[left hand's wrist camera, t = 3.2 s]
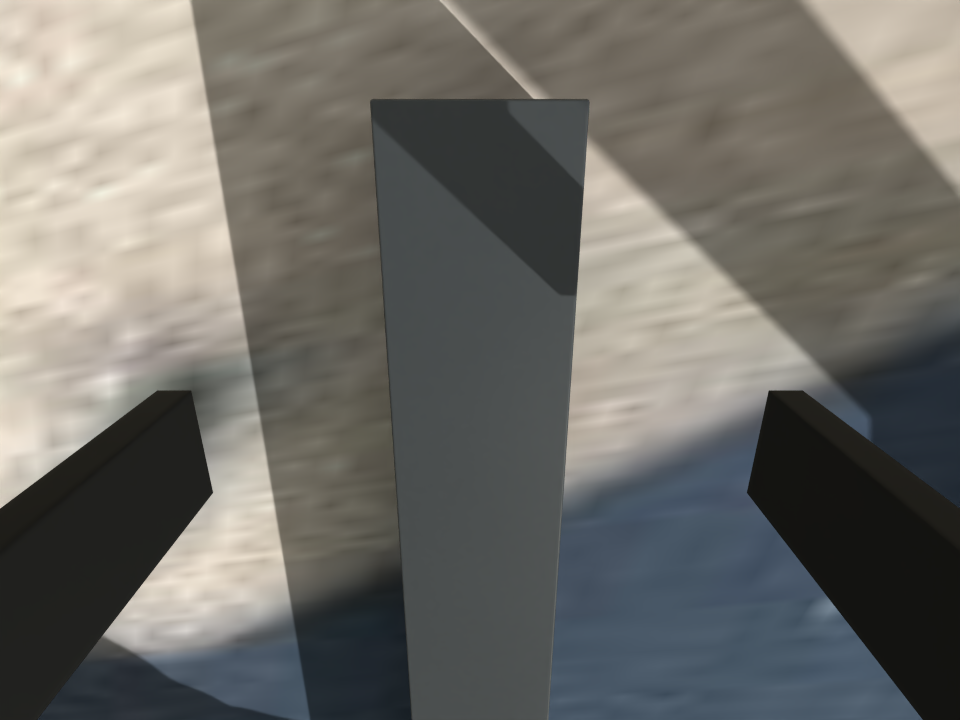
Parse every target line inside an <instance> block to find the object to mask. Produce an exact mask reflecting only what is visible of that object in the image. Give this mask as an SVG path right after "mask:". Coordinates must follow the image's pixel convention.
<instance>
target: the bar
mask: <svg viewBox="0 0 960 720" xmlns="http://www.w3.org/2000/svg"><path fill="white" fill-rule="evenodd" d="M370 107H371V122H372V136H373V151H374V166H375V181H376V196H377V211H378V226H379V241H380V256H381V271H382V286H383V301H384V315H385V330H386V345H387V360H388V375H389V390H390V405H391V420H392V435H393V450H394V465H395V479H396V494H397V509H398V524H399V539H400V554H401V569H402V584H403V599H404V614H405V629H406V644H407V658H408V673H409V688H410V703H411V718H412V720H548V715H549V700H550V685H551V670H552V655H553V640H554V625H555V611H556V596H557V581H558V566H559V551H560V536H561V521H562V506H563V491H564V476H565V461H566V446H567V431H568V416H569V401H570V386H571V371H572V356H573V341H574V326H575V311H576V296H577V281H578V267H579V252H580V237H581V222H582V207H583V192H584V177H585V162H586V147H587V132H588V117H589V100H588V99H372V100H371V101H370Z"/></svg>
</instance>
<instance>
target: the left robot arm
mask: <svg viewBox="0 0 960 720" xmlns="http://www.w3.org/2000/svg"><path fill="white" fill-rule="evenodd" d="M212 493H213V490H212V486H211V481H210V476H209V472H208V467H207V462H206V458H205V453H204V448H203V444H202V439H201V434H200V430H199V425H198V420H197V416H196V411H195V406H194V402H193V397H192V392H191V391H156V392H155V393H154V394H152V395H151V396H150V397H148V398H147V399H146V400H144V401H143V402H142V403H140V404H139V405H138V406H136V407H135V408H134V409H132V410H131V411H130V412H128V413H127V414H126V415H124V416H123V417H122V418H120V419H119V420H118V421H116V422H115V423H114V424H112V425H111V426H110V427H108V428H107V429H106V430H104V431H103V432H102V433H100V434H99V435H98V436H96V437H95V438H94V439H92V440H91V441H90V442H88V443H87V444H86V445H84V446H83V447H82V448H80V449H79V450H78V451H76V452H75V453H74V454H72V455H71V456H70V457H68V458H67V459H66V460H64V461H63V462H62V463H60V464H59V465H58V466H56V467H55V468H54V469H52V470H51V471H50V472H48V473H47V474H46V475H44V476H43V477H42V478H40V479H39V480H38V481H36V482H35V483H34V484H32V485H31V486H30V487H28V488H27V489H26V490H24V491H23V492H22V493H20V494H19V495H18V496H16V497H15V498H14V499H12V500H11V501H10V502H8V503H7V504H6V505H4V506H3V507H2V508H0V720H37V719H38V718H39V717H40V715H41V714H42V713H43V711H44V710H45V709H46V708H47V706H48V705H49V704H50V702H51V701H52V700H53V699H54V697H55V696H56V695H57V693H58V692H59V691H60V689H61V688H62V687H63V686H64V684H65V683H66V682H67V680H68V679H69V678H70V677H71V675H72V674H73V673H74V671H75V670H76V669H77V668H78V666H79V665H80V664H81V662H82V661H83V660H84V659H85V657H86V656H87V655H88V653H89V652H90V651H91V649H92V648H93V647H94V646H95V644H96V643H97V642H98V640H99V639H100V638H101V637H102V635H103V634H104V633H105V631H106V630H107V629H108V628H109V626H110V625H111V624H112V622H113V621H114V620H115V619H116V617H117V616H118V615H119V613H120V612H121V611H122V609H123V608H124V607H125V606H126V604H127V603H128V602H129V600H130V599H131V598H132V597H133V595H134V594H135V593H136V591H137V590H138V589H139V588H140V586H141V585H142V584H143V582H144V581H145V580H146V579H147V577H148V576H149V575H150V573H151V572H152V571H153V570H154V568H155V567H156V566H157V564H158V563H159V562H160V560H161V559H162V558H163V557H164V555H165V554H166V553H167V551H168V550H169V549H170V548H171V546H172V545H173V544H174V542H175V541H176V540H177V539H178V537H179V536H180V535H181V533H182V532H183V531H184V530H185V528H186V527H187V526H188V524H189V523H190V522H191V520H192V519H193V518H194V517H195V515H196V514H197V513H198V511H199V510H200V509H201V508H202V506H203V505H204V504H205V502H206V501H207V500H208V499H209V497H210V496H211V495H212ZM747 493H748V495H749V496H750V497H751V499H752V500H753V501H754V502H755V504H756V505H757V506H758V508H759V509H760V510H761V511H762V513H763V514H764V515H765V517H766V518H767V519H768V520H769V522H770V523H771V524H772V526H773V527H774V528H775V530H776V531H777V532H778V533H779V535H780V536H781V537H782V539H783V540H784V541H785V542H786V544H787V545H788V546H789V548H790V549H791V550H792V551H793V553H794V554H795V555H796V557H797V558H798V559H799V560H800V562H801V563H802V564H803V566H804V567H805V568H806V570H807V571H808V572H809V573H810V575H811V576H812V577H813V579H814V580H815V581H816V582H817V584H818V585H819V586H820V588H821V589H822V590H823V591H824V593H825V594H826V595H827V597H828V598H829V599H830V600H831V602H832V603H833V604H834V606H835V607H836V608H837V609H838V611H839V612H840V613H841V615H842V616H843V617H844V619H845V620H846V621H847V622H848V624H849V625H850V626H851V628H852V629H853V630H854V631H855V633H856V634H857V635H858V637H859V638H860V639H861V640H862V642H863V643H864V644H865V646H866V647H867V648H868V649H869V651H870V652H871V653H872V655H873V656H874V657H875V659H876V660H877V661H878V662H879V664H880V665H881V666H882V668H883V669H884V670H885V671H886V673H887V674H888V675H889V677H890V678H891V679H892V680H893V682H894V683H895V684H896V686H897V687H898V688H899V689H900V691H901V692H902V693H903V695H904V696H905V697H906V699H907V700H908V701H909V702H910V704H911V705H912V706H913V708H914V709H915V710H916V711H917V713H918V714H919V715H920V717H921V718H922V719H923V720H960V508H958V507H957V506H956V505H954V504H953V503H952V502H950V501H949V500H948V499H946V498H945V497H944V496H942V495H941V494H940V493H938V492H937V491H936V490H934V489H933V488H932V487H930V486H929V485H928V484H926V483H925V482H924V481H922V480H921V479H920V478H918V477H917V476H916V475H914V474H913V473H912V472H910V471H909V470H908V469H906V468H905V467H904V466H902V465H901V464H900V463H898V462H897V461H896V460H894V459H893V458H892V457H890V456H889V455H888V454H886V453H885V452H884V451H882V450H881V449H880V448H878V447H877V446H876V445H874V444H873V443H872V442H870V441H869V440H868V439H866V438H865V437H864V436H862V435H861V434H860V433H858V432H857V431H856V430H854V429H853V428H852V427H850V426H849V425H848V424H846V423H845V422H844V421H842V420H841V419H840V418H838V417H837V416H836V415H834V414H833V413H832V412H830V411H829V410H828V409H826V408H825V407H824V406H822V405H821V404H820V403H818V402H817V401H816V400H814V399H813V398H812V397H810V396H809V395H808V394H806V393H805V392H804V391H769V392H768V397H767V402H766V406H765V411H764V416H763V420H762V425H761V430H760V434H759V439H758V444H757V448H756V453H755V458H754V462H753V467H752V472H751V476H750V481H749V486H748V490H747Z"/></svg>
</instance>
